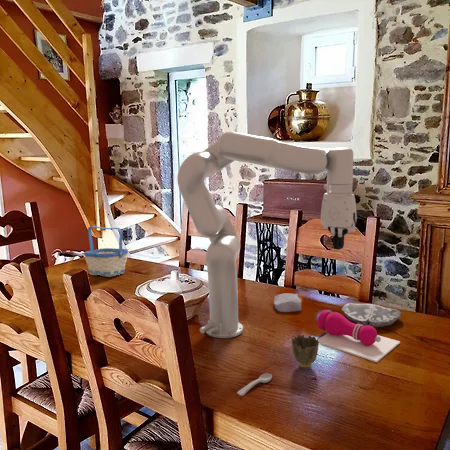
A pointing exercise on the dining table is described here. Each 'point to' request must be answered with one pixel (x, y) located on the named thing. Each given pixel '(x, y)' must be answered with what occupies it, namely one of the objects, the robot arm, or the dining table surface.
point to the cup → (305, 350)
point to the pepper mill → (347, 328)
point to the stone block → (287, 302)
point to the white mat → (359, 346)
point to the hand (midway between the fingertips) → (338, 248)
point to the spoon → (263, 378)
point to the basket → (106, 257)
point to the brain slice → (371, 314)
